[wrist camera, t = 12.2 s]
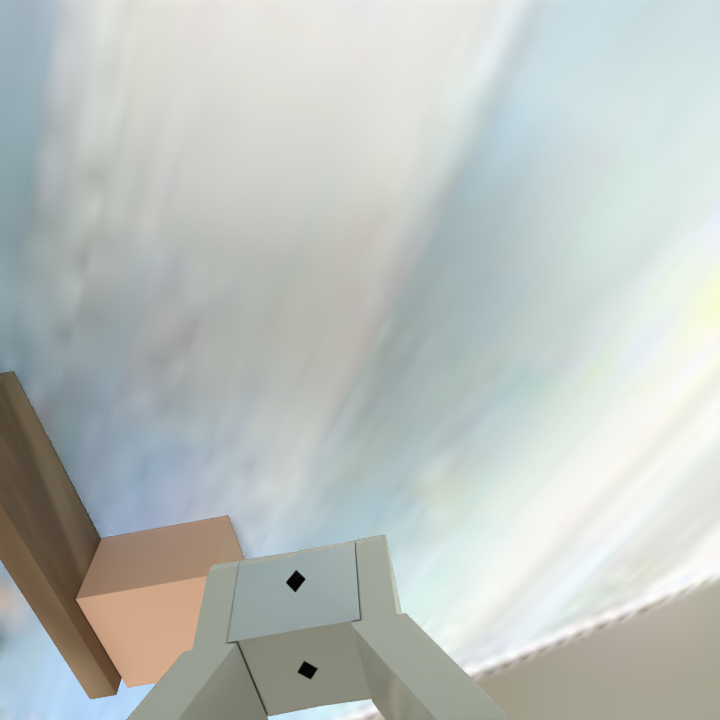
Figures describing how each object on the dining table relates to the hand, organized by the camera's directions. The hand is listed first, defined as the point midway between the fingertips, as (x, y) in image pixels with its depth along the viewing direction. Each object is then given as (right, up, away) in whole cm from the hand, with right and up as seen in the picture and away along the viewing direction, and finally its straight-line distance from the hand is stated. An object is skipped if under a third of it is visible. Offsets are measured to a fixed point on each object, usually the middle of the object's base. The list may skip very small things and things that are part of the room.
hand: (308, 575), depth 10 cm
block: (-13, -13, +39) cm, 44 cm away
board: (-21, -8, +35) cm, 42 cm away
